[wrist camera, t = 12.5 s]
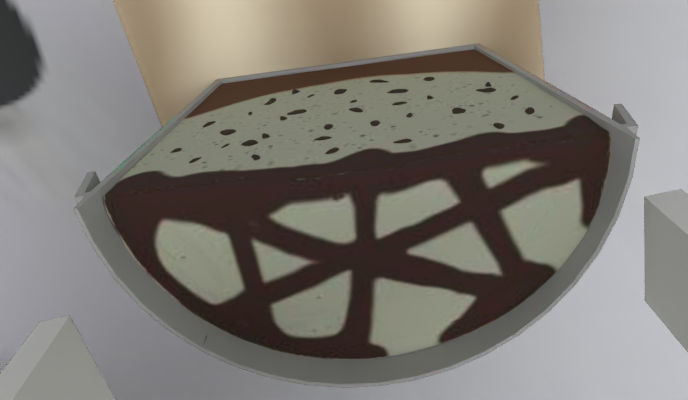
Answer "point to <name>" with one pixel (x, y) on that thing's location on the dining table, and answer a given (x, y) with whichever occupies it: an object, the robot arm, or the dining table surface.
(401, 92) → the food container
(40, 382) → the robot arm
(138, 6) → the birch platform
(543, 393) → the dining table surface
